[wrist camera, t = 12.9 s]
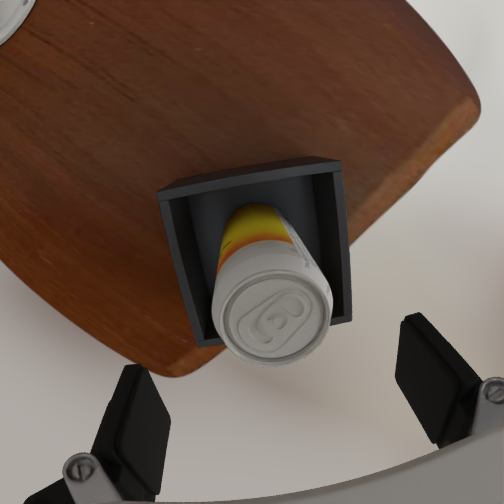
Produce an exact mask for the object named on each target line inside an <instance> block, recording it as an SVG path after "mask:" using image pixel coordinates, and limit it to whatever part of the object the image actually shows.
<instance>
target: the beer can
mask: <svg viewBox="0 0 504 504" xmlns="http://www.w3.org/2000/svg"><path fill="white" fill-rule="evenodd" d="M332 308H333V298H332V292H331V289H330V286H329V284H328V282H327V280H326V279H325V277H324V275H323V274H322V272H321V271H320V269H319V267H318V266H317V264H316V263H315V261H314V260H313V258H312V256H311V255H310V253H309V252H308V250H307V249H306V247H305V245H304V244H303V242H302V241H301V239H300V238H299V236H298V235H297V233H296V232H295V230H294V229H293V227H292V225H291V224H290V222H289V221H288V219H287V218H286V216H285V215H284V214H283V213H282V212H281V211H279V210H278V209H276V208H275V207H272V206H270V205H266V204H250V205H246V206H244V207H242V208H240V209H238V210H237V211H236V212H234V213H233V214H232V215H231V217H230V218H229V219H228V221H227V223H226V225H225V227H224V231H223V237H222V243H221V249H220V256H219V262H218V268H217V275H216V281H215V288H214V295H213V301H212V318H213V322H214V325H215V328H216V330H217V332H218V334H219V335H220V337H221V338H222V339H223V341H224V343H225V344H226V346H227V347H228V349H230V351H231V352H232V353H234V354H235V355H236V356H237V357H239V358H240V359H242V360H244V361H246V362H248V363H251V364H254V365H258V366H263V367H279V366H284V365H289V364H292V363H295V362H297V361H299V360H301V359H303V358H305V357H307V356H308V355H309V354H311V353H312V352H313V351H314V350H315V349H316V348H317V347H318V346H319V345H320V344H321V343H322V341H323V340H324V338H325V336H326V334H327V332H328V329H329V326H330V320H331V314H332Z"/></svg>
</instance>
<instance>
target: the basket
mask: <svg viewBox="0 0 504 504" xmlns="http://www.w3.org/2000/svg"><path fill="white" fill-rule="evenodd" d="M157 197H158V201H159V206H160V210H161V215H162V219H163V223H164V227H165V232H166V236H167V240H168V244H169V248H170V252H171V256H172V260H173V263H174V267H175V271H176V275H177V278H178V282H179V286H180V289H181V293H182V296H183V300H184V303H185V307H186V310H187V314H188V317H189V321H190V324H191V327H192V330H193V334H194V337H195V340H196V343H197V346H198V348H201V347H209V346H216V345H224V344H225V343H224V341H223V339H222V338H221V337H220V335H219V334H218V332H217V330H216V328H215V325H214V322H213V318H212V301H213V295H214V288H215V281H216V275H217V268H218V262H219V256H220V249H221V243H222V237H223V231H224V227H225V225H226V223H227V221H228V219H229V218H230V217H231V215H232V214H233V213H234V212H236V211H237V210H238V209H240V208H242V207H244V206H246V205H250V204H266V205H270V206H272V207H275V208H276V209H278V210H279V211H281V212H282V213H283V214H284V215H285V216H286V218H287V219H288V221H289V222H290V224H291V225H292V227H293V229H294V230H295V232H296V233H297V235H298V236H299V238H300V239H301V241H302V242H303V244H304V245H305V247H306V249H307V250H308V252H309V253H310V255H311V256H312V258H313V260H314V261H315V263H316V264H317V266H318V267H319V269H320V271H321V272H322V274H323V275H324V277H325V279H326V280H327V282H328V284H329V286H330V289H331V292H332V298H333V308H332V314H331V320H330V326H332V325H336V324H341V323H345V322H350V321H352V290H351V270H350V269H351V268H350V252H349V237H348V225H347V214H346V203H345V193H344V184H343V176H342V167H341V161H340V160H334V159H328V158H322V157H316V156H312V157H304V158H297V159H290V160H283V161H276V162H270V163H264V164H257V165H251V166H246V167H240V168H234V169H229V170H223V171H218V172H213V173H207V174H202V175H197V176H192V177H188V178H183V179H178V180H176V181H175V182H173V183H171V184H169V185H168V186H166V187H164V188H163V189H161V190H159V191H157Z"/></svg>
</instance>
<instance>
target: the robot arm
mask: <svg viewBox="0 0 504 504" xmlns="http://www.w3.org/2000/svg"><path fill="white" fill-rule="evenodd" d="M34 2H35V0H0V45H1V44H3V43H4V42H5V41H6V40H7V39H8V38H9V37H10V36H11V35H12V34H13V33H14V32H15V31H16V30H17V29H18V27H19V26H20V25H21V24H22V22H23V21H24V19H25V18H26V17H27V15H28V13H29V12H30V10H31V8H32V7H33V5H34ZM395 378H396V382H397V384H398V386H399V387H400V389H401V391H402V392H403V394H404V396H405V397H406V399H407V401H408V403H409V404H410V406H411V408H412V409H413V411H414V413H415V415H416V416H417V418H418V420H419V422H420V423H421V425H422V427H423V429H424V430H425V432H426V434H427V436H428V438H429V439H430V441H431V442H432V443H433V444H435V443H436V444H437V446H438V448H439V450H437V451H434V452H432V453H429V454H427V455H424V456H422V457H419V458H417V459H414V460H411V461H409V462H406V463H403V464H400V465H398V466H395V467H392V468H389V469H386V470H383V471H380V472H377V473H374V474H370V475H367V476H363V477H360V478H356V479H353V480H349V481H345V482H341V483H337V484H333V485H329V486H325V487H320V488H315V489H310V490H306V491H300V492H295V493H289V494H283V495H276V496H269V497H261V498H252V499H242V500H231V501H215V502H155V496H156V495H159V493H160V489H161V482H162V475H163V469H164V462H165V455H166V449H167V442H168V437H169V431H170V425H171V419H170V415H169V413H168V411H167V409H166V407H165V405H164V403H163V401H162V399H161V397H160V395H159V393H158V391H157V389H156V386H155V384H154V382H153V381H152V378H151V376H150V373H149V371H148V369H147V368H146V367H143V366H142V365H141V364H132V365H126V366H125V367H124V369H123V371H122V374H121V376H120V379H119V381H118V384H117V386H116V389H115V391H114V394H113V397H112V399H111V400H110V402H109V403H108V406H107V408H106V411H105V414H104V416H103V419H102V422H101V424H100V427H99V430H98V433H97V435H96V438H95V441H94V444H93V446H92V449H91V452H90V453H85V452H84V453H78V454H75V455H73V456H71V457H70V458H69V459H68V460H67V461H66V462H65V464H64V466H63V471H62V473H63V478H62V479H60V480H58V481H56V482H55V483H53V484H51V485H49V486H48V487H46V488H44V489H42V490H40V491H39V492H37V493H35V494H33V495H31V496H30V497H28V498H27V499H26V500H25V502H24V503H23V504H504V378H501V377H492V378H488V379H486V380H485V381H482V380H481V378H480V377H479V376H478V375H477V374H476V373H475V371H474V370H473V369H472V368H471V367H470V366H469V364H468V363H467V362H466V361H465V360H464V359H463V358H462V356H461V355H460V354H459V353H458V352H457V351H456V350H455V349H454V348H453V347H452V346H451V344H450V343H449V342H447V340H446V339H445V338H444V337H443V336H442V335H441V334H440V333H439V332H438V330H437V329H436V328H435V327H434V326H433V325H432V324H431V323H430V322H429V321H428V320H427V319H426V318H425V317H424V316H423V315H422V314H421V313H420V312H418V313H414V314H411V315H408V316H405V318H404V321H402V322H401V325H400V336H399V346H398V355H397V363H396V371H395ZM144 501H146V502H144Z"/></svg>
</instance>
